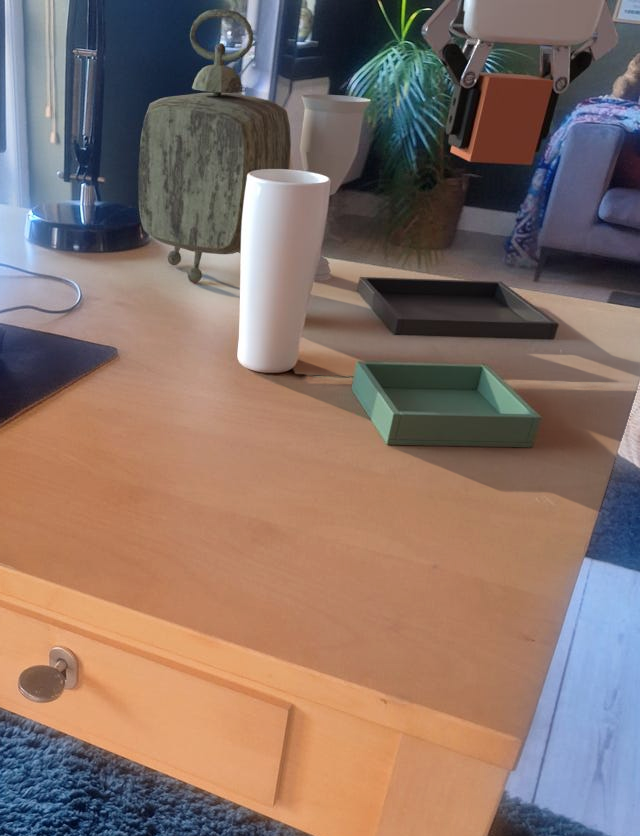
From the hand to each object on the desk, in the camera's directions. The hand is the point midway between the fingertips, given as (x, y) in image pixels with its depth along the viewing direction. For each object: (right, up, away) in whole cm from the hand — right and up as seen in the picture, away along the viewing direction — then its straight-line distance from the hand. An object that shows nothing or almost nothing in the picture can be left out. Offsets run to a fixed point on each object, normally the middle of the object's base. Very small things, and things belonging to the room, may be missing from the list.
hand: (493, 145), depth 70 cm
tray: (-5, -22, 0) cm, 22 cm away
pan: (+4, -6, +22) cm, 23 cm away
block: (0, -1, +1) cm, 1 cm away
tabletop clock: (-22, +2, +30) cm, 37 cm away
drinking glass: (-17, -15, +8) cm, 24 cm away
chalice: (-9, +3, +33) cm, 34 cm away
